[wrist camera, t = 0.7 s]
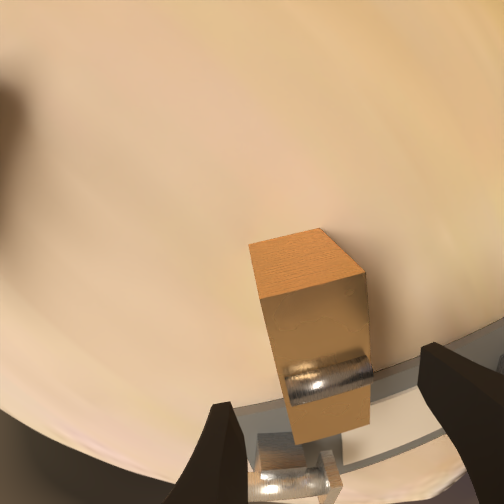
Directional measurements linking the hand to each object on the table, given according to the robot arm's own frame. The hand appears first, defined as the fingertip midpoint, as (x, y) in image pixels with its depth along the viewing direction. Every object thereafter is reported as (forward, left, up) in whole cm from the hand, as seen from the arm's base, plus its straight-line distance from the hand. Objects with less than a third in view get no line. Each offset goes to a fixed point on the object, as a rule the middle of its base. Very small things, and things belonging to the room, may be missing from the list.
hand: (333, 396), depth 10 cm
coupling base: (-7, +12, -7) cm, 16 cm away
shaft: (+3, +11, -6) cm, 13 cm away
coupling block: (0, 0, -7) cm, 7 cm away
